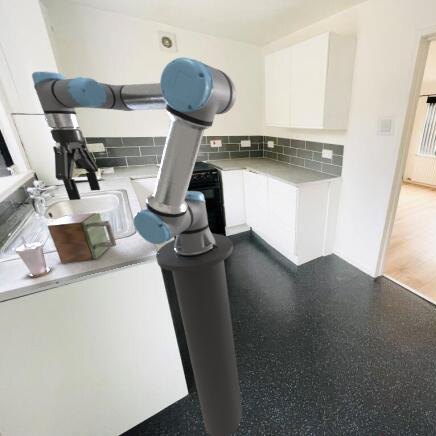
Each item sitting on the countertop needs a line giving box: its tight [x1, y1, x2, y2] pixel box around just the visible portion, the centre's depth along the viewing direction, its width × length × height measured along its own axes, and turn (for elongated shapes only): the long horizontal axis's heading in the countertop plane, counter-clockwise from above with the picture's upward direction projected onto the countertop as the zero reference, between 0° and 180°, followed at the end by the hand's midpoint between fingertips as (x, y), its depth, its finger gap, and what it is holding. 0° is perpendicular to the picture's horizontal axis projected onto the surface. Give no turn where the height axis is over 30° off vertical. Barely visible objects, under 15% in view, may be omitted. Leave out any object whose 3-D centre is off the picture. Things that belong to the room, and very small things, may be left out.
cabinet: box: [46, 212, 97, 264], centre depth 93 cm, size 10×11×15 cm
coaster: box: [29, 267, 51, 278], centre depth 83 cm, size 5×5×1 cm
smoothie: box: [14, 234, 48, 275], centre depth 81 cm, size 6×6×14 cm
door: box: [82, 212, 118, 260], centre depth 95 cm, size 8×11×15 cm
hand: (86, 194), depth 84 cm, fingers open, 13 cm apart
